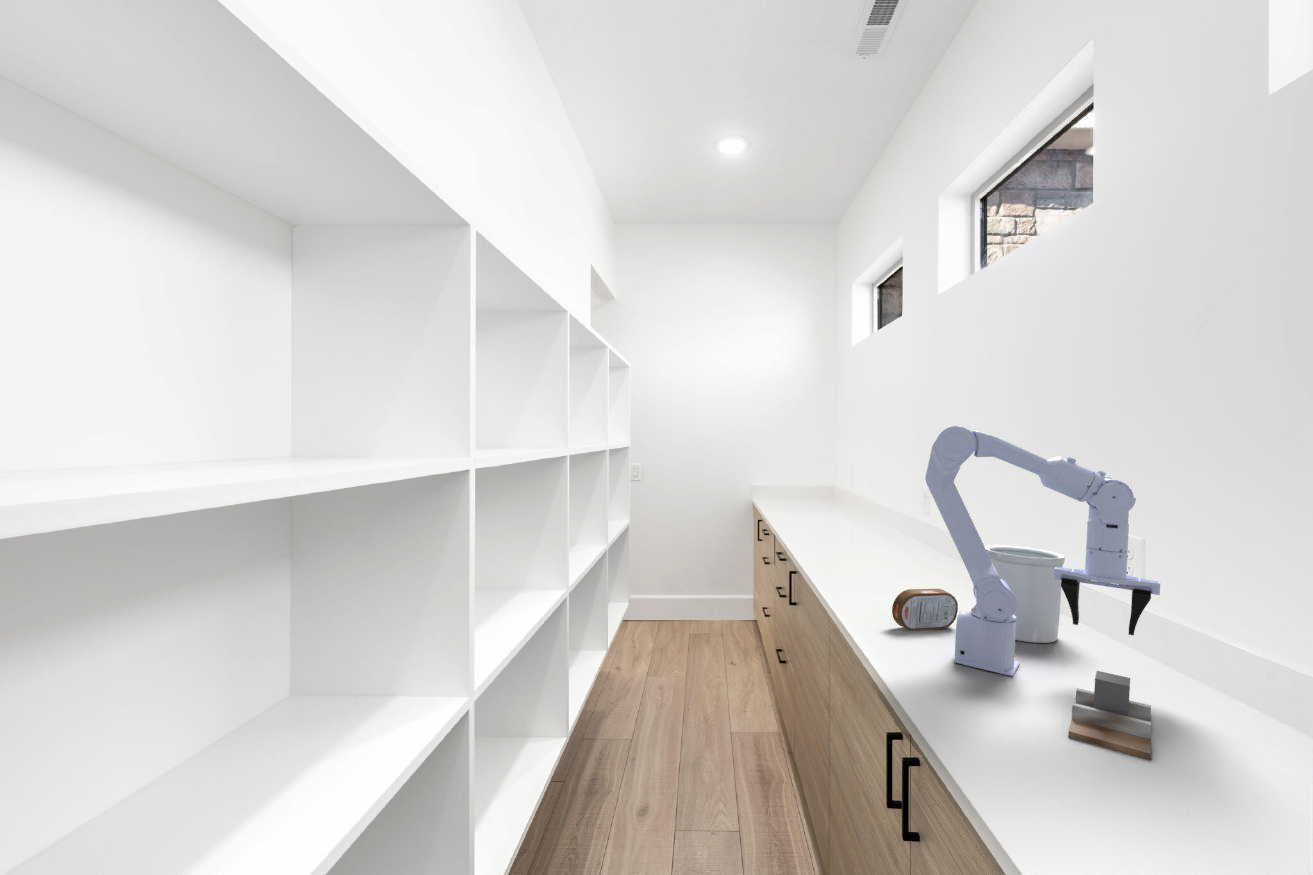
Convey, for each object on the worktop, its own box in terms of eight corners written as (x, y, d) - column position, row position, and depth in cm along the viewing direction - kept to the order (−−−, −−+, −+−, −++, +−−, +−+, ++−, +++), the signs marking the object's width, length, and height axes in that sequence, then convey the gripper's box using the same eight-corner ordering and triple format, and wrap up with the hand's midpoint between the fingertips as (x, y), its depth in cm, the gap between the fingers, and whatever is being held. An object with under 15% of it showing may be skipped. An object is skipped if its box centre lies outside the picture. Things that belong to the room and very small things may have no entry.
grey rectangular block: (1093, 719, 90) (1095, 678, 90) (1094, 710, 93) (1096, 670, 93) (1127, 728, 88) (1129, 686, 87) (1128, 718, 91) (1130, 677, 91)
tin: (949, 624, 136) (951, 586, 136) (959, 629, 133) (961, 590, 133) (890, 628, 132) (891, 589, 132) (899, 633, 129) (901, 592, 129)
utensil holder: (985, 617, 143) (989, 541, 142) (1062, 631, 134) (1066, 551, 134) (974, 633, 131) (978, 550, 131) (1058, 650, 122) (1062, 561, 122)
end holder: (1068, 736, 86) (1069, 716, 86) (1078, 695, 100) (1079, 678, 100) (1151, 759, 81) (1152, 738, 81) (1149, 712, 95) (1150, 694, 95)
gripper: (1053, 545, 107) (1050, 624, 107) (1162, 559, 98) (1158, 644, 98) (1057, 540, 112) (1054, 615, 113) (1160, 553, 103) (1157, 633, 104)
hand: (1102, 628), depth 106 cm, fingers open, 7 cm apart
